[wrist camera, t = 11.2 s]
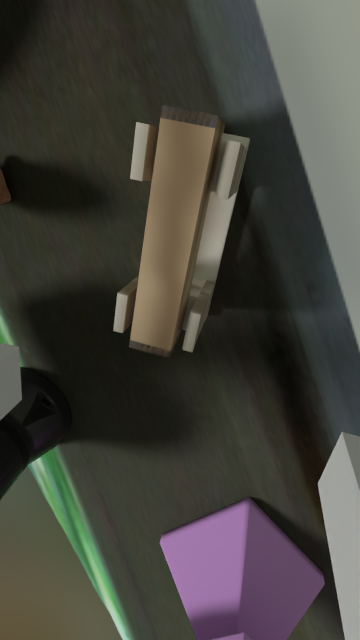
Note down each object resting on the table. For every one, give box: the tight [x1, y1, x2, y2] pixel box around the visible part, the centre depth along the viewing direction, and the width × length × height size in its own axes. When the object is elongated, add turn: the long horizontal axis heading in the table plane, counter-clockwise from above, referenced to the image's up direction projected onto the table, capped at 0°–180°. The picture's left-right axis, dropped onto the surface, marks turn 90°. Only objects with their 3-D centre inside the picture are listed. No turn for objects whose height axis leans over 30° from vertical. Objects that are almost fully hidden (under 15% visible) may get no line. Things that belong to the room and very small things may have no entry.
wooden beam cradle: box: [113, 122, 250, 352], centre depth 34 cm, size 8×20×12 cm, turn 169°
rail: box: [129, 105, 225, 358], centre depth 30 cm, size 4×20×5 cm, turn 169°
